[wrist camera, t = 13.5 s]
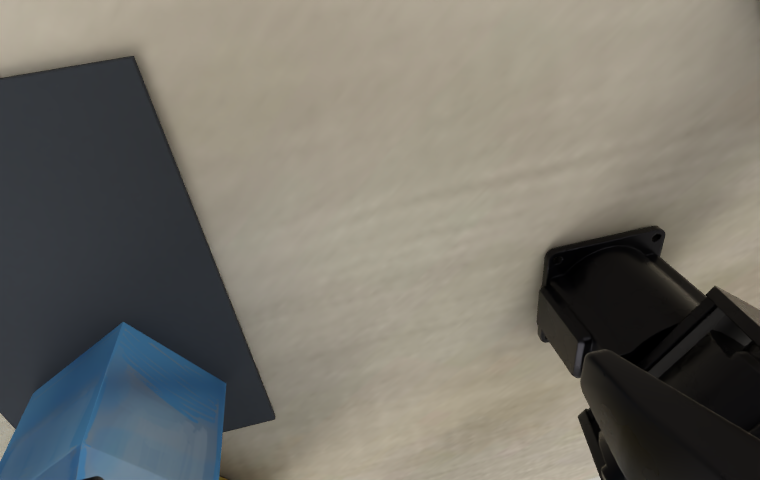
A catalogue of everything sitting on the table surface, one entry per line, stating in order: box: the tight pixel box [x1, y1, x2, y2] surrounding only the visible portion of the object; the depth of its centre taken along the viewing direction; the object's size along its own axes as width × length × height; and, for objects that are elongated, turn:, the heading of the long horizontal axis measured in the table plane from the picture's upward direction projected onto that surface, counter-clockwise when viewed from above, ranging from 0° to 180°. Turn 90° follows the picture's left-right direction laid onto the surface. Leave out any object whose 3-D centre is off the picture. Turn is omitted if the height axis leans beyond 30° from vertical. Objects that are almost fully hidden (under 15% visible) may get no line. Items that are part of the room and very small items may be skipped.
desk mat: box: [0, 56, 275, 432], centre depth 22 cm, size 12×20×1 cm, turn 7°
